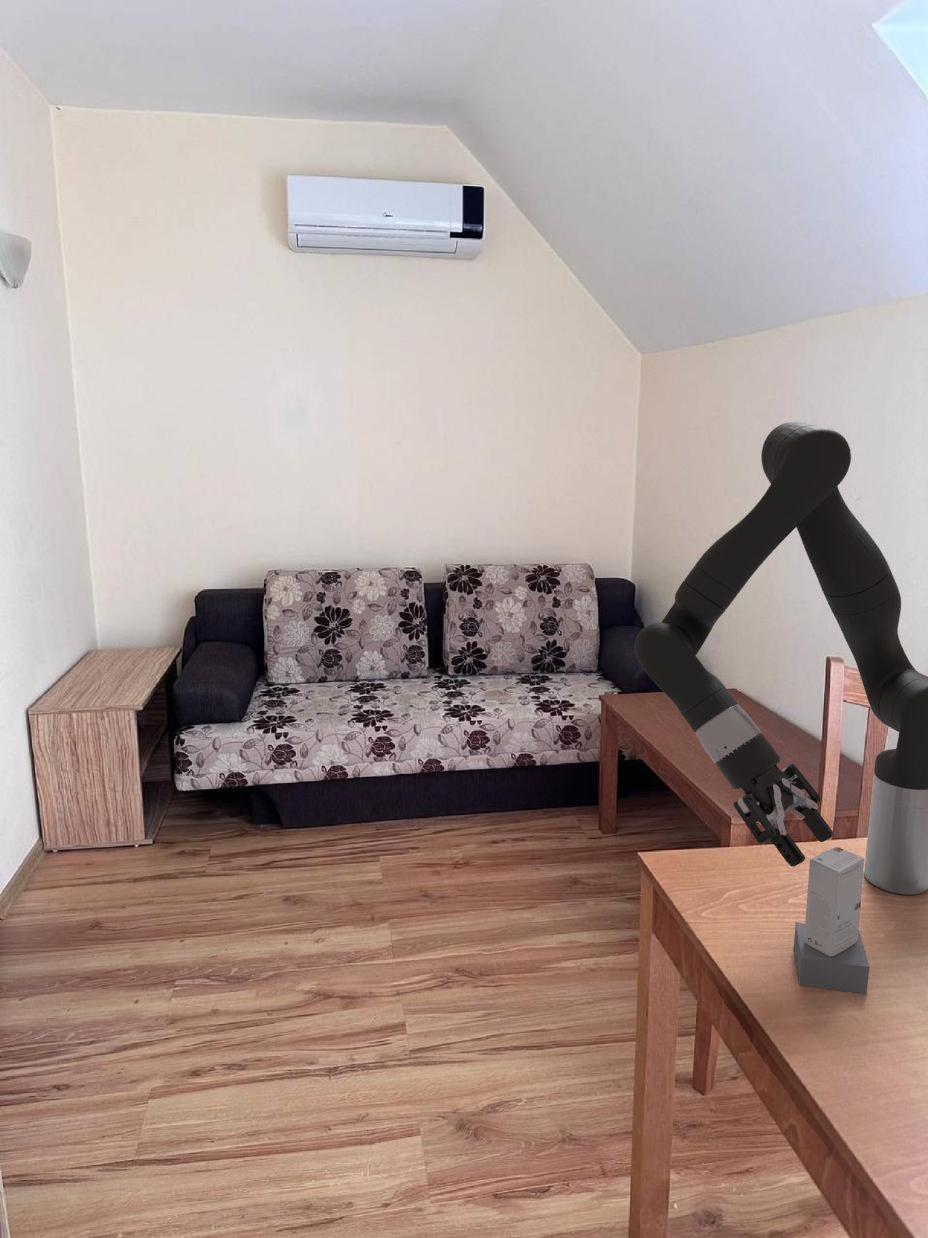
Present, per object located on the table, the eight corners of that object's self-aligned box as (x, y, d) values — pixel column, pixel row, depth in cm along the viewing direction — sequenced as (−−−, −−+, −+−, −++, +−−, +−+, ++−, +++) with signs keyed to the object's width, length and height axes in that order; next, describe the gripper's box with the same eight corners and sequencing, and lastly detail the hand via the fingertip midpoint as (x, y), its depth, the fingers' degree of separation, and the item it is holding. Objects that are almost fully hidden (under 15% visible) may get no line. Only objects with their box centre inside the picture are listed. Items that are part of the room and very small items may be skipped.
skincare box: (832, 959, 112) (840, 873, 109) (801, 942, 116) (808, 859, 113) (859, 941, 116) (868, 858, 113) (828, 925, 119) (835, 844, 116)
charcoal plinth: (793, 948, 121) (795, 922, 120) (856, 956, 119) (859, 930, 118) (799, 985, 114) (801, 958, 113) (866, 994, 112) (869, 967, 111)
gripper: (729, 748, 112) (811, 860, 107) (780, 718, 122) (858, 819, 117) (690, 775, 117) (767, 884, 112) (743, 744, 127) (815, 842, 122)
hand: (813, 851), depth 114 cm, fingers open, 8 cm apart
